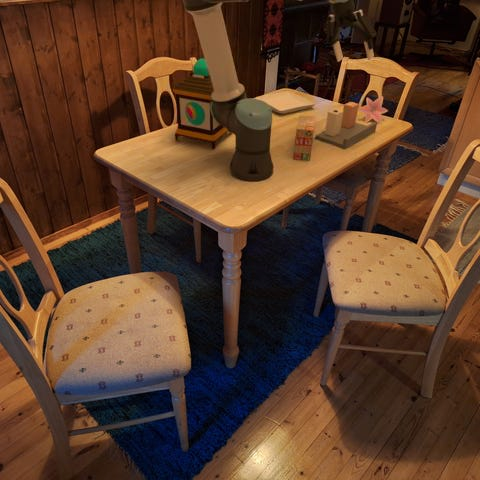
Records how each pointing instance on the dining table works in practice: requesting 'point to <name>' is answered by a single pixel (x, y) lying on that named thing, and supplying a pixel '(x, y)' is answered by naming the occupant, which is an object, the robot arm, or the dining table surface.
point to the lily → (373, 110)
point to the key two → (349, 114)
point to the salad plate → (286, 102)
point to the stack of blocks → (304, 138)
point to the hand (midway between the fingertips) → (355, 59)
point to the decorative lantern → (197, 107)
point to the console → (348, 135)
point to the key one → (334, 122)
